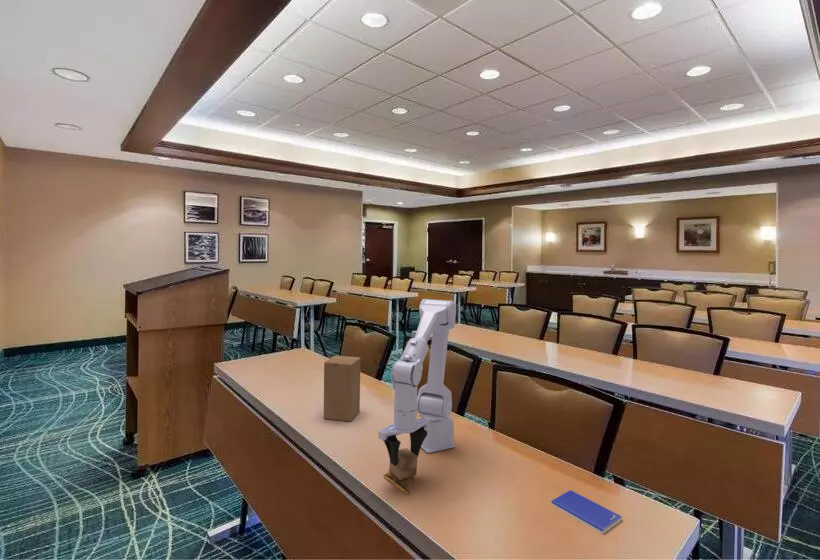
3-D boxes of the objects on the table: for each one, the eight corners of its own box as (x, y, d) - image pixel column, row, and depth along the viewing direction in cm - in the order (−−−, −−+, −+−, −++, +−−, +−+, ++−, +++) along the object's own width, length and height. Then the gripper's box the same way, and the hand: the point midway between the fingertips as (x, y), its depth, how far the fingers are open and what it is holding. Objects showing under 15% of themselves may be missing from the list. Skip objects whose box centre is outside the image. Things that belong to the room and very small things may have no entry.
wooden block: (350, 422, 139) (351, 364, 138) (322, 419, 141) (323, 361, 140) (360, 411, 149) (361, 357, 148) (334, 408, 151) (334, 355, 150)
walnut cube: (405, 466, 109) (406, 447, 108) (416, 475, 105) (417, 456, 104) (389, 470, 106) (390, 452, 105) (400, 480, 102) (401, 460, 101)
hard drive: (622, 515, 91) (571, 489, 100) (602, 529, 86) (551, 500, 96) (621, 522, 91) (570, 495, 101) (602, 536, 86) (550, 506, 96)
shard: (408, 498, 98) (408, 491, 98) (377, 494, 99) (377, 487, 99) (415, 474, 108) (415, 468, 108) (387, 471, 110) (387, 464, 109)
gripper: (418, 398, 111) (417, 446, 112) (372, 408, 103) (371, 461, 103) (435, 406, 105) (433, 457, 106) (387, 418, 97) (386, 474, 98)
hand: (404, 460), depth 104 cm, fingers open, 6 cm apart
